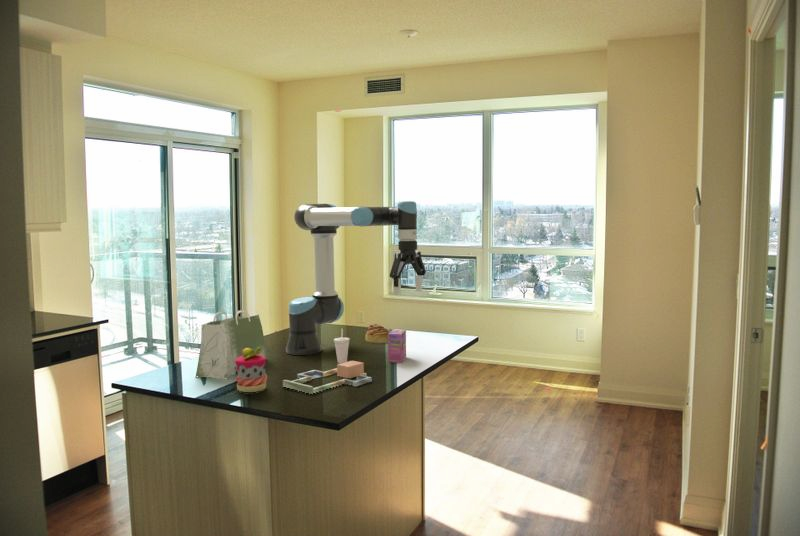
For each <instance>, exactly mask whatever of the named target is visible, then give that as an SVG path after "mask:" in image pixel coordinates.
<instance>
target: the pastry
mask: <svg viewBox="0 0 800 536" xmlns="http://www.w3.org/2000/svg"><path fill="white" fill-rule="evenodd" d="M391 331H392V330H389V329H387V328H385V327H384V326H382V325H381V324H379V323H370V324H369V326H368V329H367V331H366V333H365V336H364V338H365V341H366V342H367V343H370V344H372V343H373V344H388V334H389V333H390V332H391Z"/></svg>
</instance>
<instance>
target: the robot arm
mask: <svg viewBox="0 0 800 536" xmlns="http://www.w3.org/2000/svg"><path fill="white" fill-rule="evenodd" d="M293 217H294V218H293V219H294V222H295V224H296V225H297V226H298V227H299V228H300V229H302V230H305V231H310V235H311V237H313V239H314V241H313V242H314V243H313V246H314V274H315V275H314V281H315V290H314V292H312V296H305V297H304V296H303V297H298V298H294V299H292V300H291V301H290V302H289V304H288V316H289V317H288V318H289V336H288V340H287V345H286V347H285V352H286V354H289V355H293V356H294V355H295V356H307V355H314V354H318V353H320V352H321V351H322V345H321V343H320V340H319V336H318V334H317V326H321V325H326V324H333V323H334V322H337V321H339V320H340V319H341V318H342V316H343V315H344V310H345V306H344V305H345V304H344V302H343V300H342V299H341V298H340V297H339V293H338V291H336V289H335V287H336V286H335V252H334V250H335V248H334V247H335V246H334V238H335V236H336V235H337V229H339V228H340V227H372V226H375V227H377V226H381V227H382V226H397V229H398V230H397V239H398V240H399V241H398V242H397V244H398V251H400V252H395V253H394V260H393V262H392V266H391V269H390V272H389V277H390V278H391V279H392V280H393V288H394V291H393V293H394V294H393V295H394V296H401V295H402V288H401V286H402V285H401V284H402V282H401V281H402V279H401V278H400V276H401V275H402V273H403V271H404V268H405V267H406V266H407V265H408V264H410V265H411V267H412V268H413V269H414V272H415V274H416V275H415V292H423V276H425V275H426V273H427V271H426V268H425V265H424V264H425V263H424V261H423V259H422V252H421V251H419V250H418V240H417V239H418V227H417V226H418V224H417V223H418V221H417V219H418V209H417V202H416V201H414V200H413V201H411V200H408V201H407V200H406V201H403V200H402V201H398V202H397V206H349V207H347V206H346V207H345V206H344V207H337V206H336V205H334V204H331V203H330V204H329V203H304V204H301V205H300V206H298V207H297V208H296V210H295V212H294V216H293ZM417 250H418V251H417Z"/></svg>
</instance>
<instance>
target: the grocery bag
mask: <svg viewBox="0 0 800 536" xmlns="http://www.w3.org/2000/svg"><path fill="white" fill-rule="evenodd" d="M240 313H244V314H246V316H247V317H246V316H245V317H244V316H239V314H240ZM221 314H222V315H223V314H224V316H225V318H224V319H221V320H216V318H217V317H218V316H219V315H221ZM200 334H201V338H200V346H199V348H200V349H199V354H198V362H197V367H196V373H195V377H196V376H198V377H197V378H202V377H214V378H213V379H221V378H227V379H228V378H229V376H230V377H232V376H233V375H236V369H235V366H236V364H235V360H236V359H237V358H238V357H241V356H244V355H243V350H244V349H245V348H250V349H253V350H254V351H255V350H256V349H257V348H258V347H260V348H261V350H260V351H261V352H260V353H259V354H257V355H262V356H264V357H265V358H266V359H267V349H266V342H265V335H264V330H263V326H262V323H261V318H260V315H259V314H256V315H251V316H250V314H249V313H248V311H247V310H246V309H240V310H237V312H236V314H235V316H232V317H228V314H227V313H226V311H224V310H222V311H217V312H216V313H215V314H214V316H213V321H209V322H207V323H203V324H201V333H200ZM231 375H232V376H231Z"/></svg>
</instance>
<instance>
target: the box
mask: <svg viewBox="0 0 800 536" xmlns="http://www.w3.org/2000/svg"><path fill="white" fill-rule="evenodd" d="M390 331H391V332H390V333H389V334H388V343H387V362H388V363H394V364H395V363H396V364H401V363H402V362H403V361H404V359H406V358H407V329H403V328H393V329H391V330H390Z"/></svg>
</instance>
